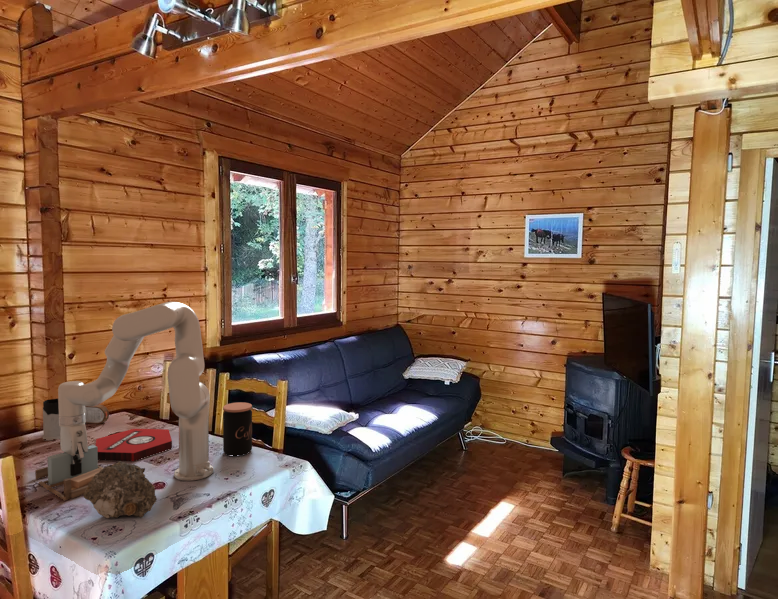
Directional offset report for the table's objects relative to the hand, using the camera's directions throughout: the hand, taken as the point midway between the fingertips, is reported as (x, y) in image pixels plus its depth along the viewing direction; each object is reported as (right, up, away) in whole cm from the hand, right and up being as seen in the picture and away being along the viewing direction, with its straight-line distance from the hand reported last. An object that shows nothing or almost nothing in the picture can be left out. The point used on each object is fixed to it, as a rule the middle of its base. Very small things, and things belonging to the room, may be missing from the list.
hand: (73, 472), depth 169 cm
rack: (+3, -2, -2) cm, 4 cm away
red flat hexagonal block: (+6, -1, +29) cm, 29 cm away
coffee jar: (+47, -1, +26) cm, 54 cm away
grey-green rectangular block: (0, -2, 0) cm, 2 cm away
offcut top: (+9, -1, -6) cm, 11 cm away
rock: (+30, -4, -21) cm, 37 cm away
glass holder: (-30, +1, +41) cm, 50 cm away
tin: (-28, +2, +58) cm, 64 cm away
